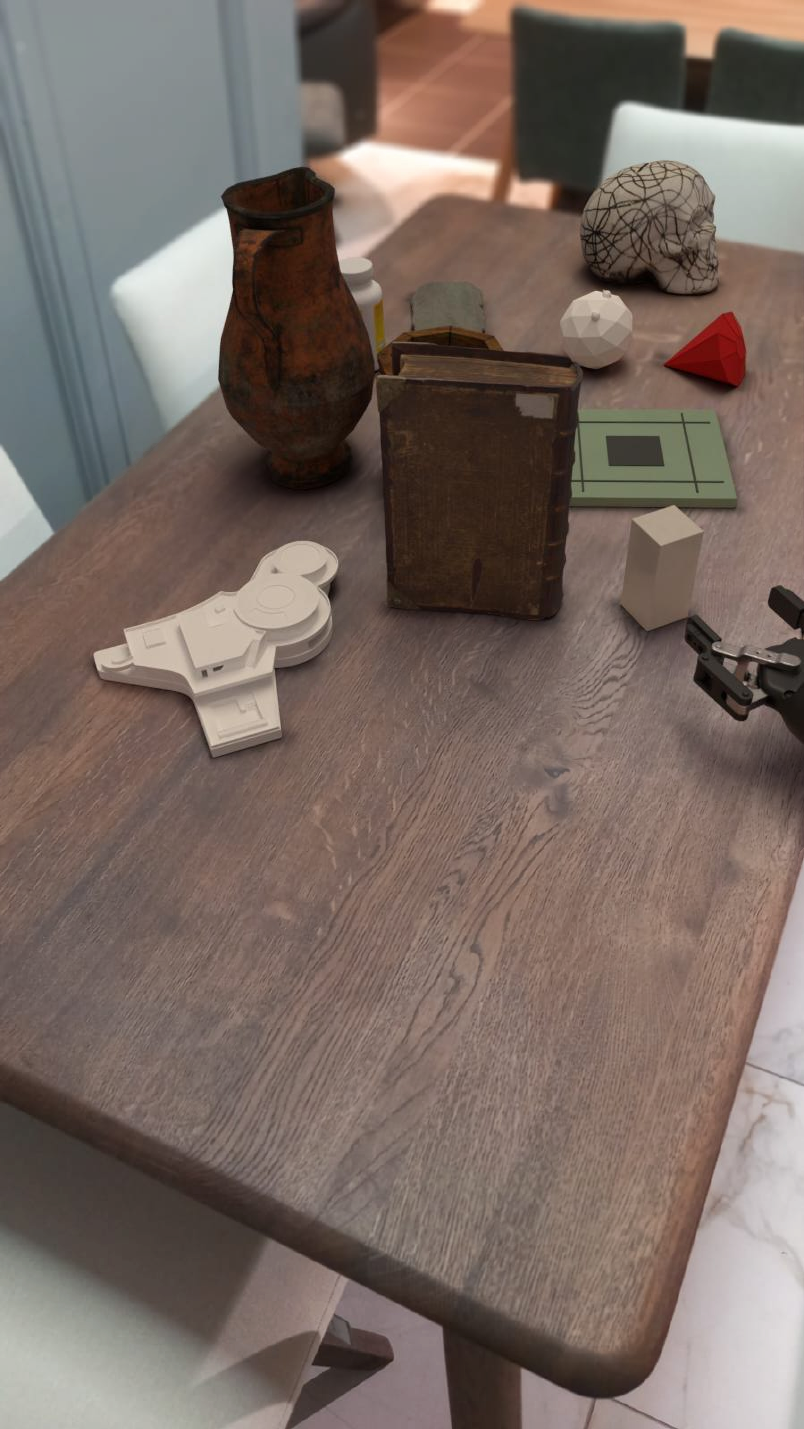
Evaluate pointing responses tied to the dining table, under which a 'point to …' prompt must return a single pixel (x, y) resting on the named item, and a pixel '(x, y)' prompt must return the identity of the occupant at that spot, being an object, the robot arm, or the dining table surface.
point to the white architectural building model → (235, 646)
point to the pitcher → (292, 330)
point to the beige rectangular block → (661, 567)
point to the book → (477, 477)
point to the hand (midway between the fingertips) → (731, 608)
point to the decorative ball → (596, 329)
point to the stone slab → (448, 306)
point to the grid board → (650, 459)
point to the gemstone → (715, 352)
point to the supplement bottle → (366, 299)
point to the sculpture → (653, 228)
